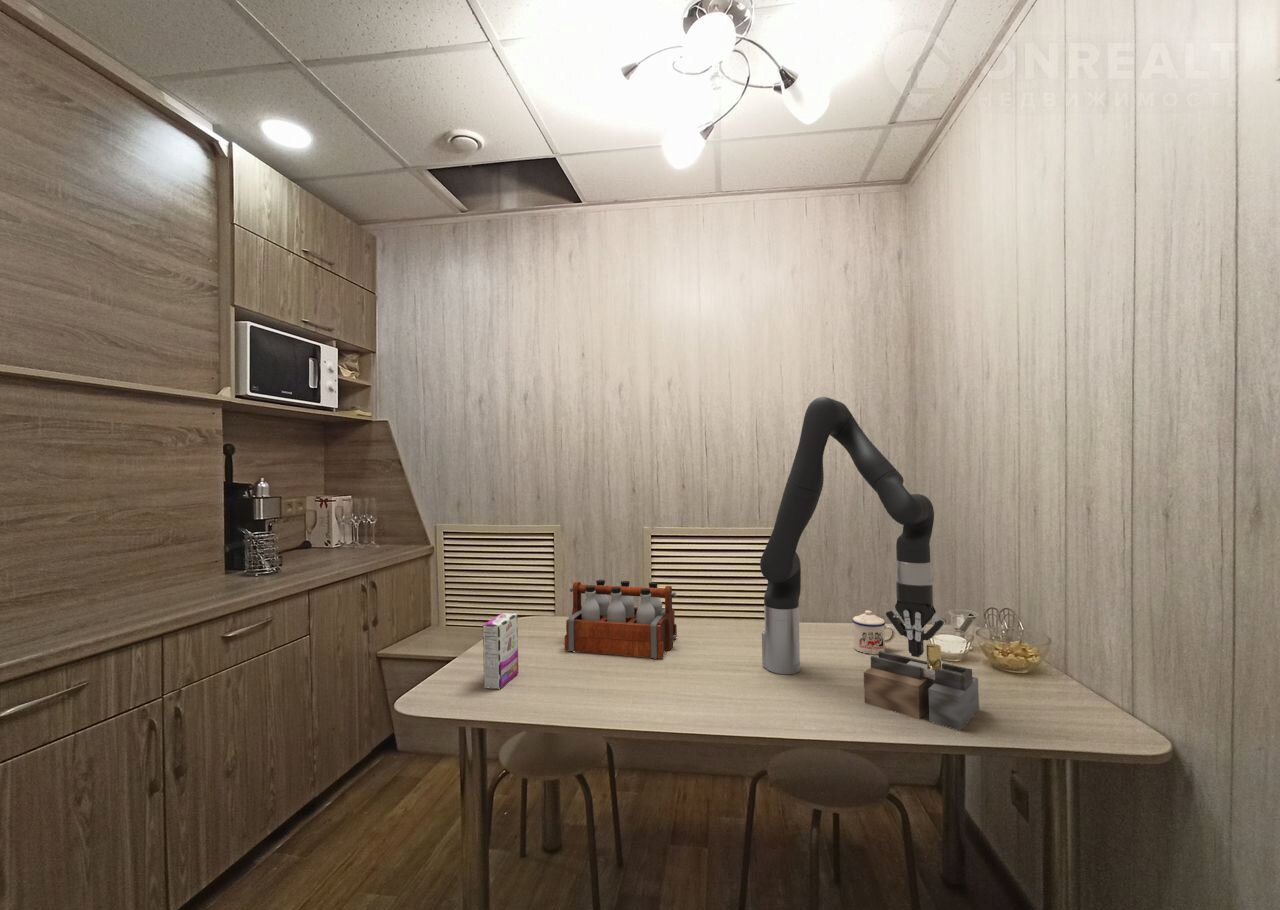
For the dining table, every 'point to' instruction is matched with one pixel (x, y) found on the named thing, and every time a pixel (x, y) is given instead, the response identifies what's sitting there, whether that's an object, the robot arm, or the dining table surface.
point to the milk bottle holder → (621, 620)
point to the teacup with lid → (870, 633)
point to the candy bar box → (500, 650)
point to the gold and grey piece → (931, 662)
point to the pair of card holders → (922, 690)
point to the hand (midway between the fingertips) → (916, 655)
